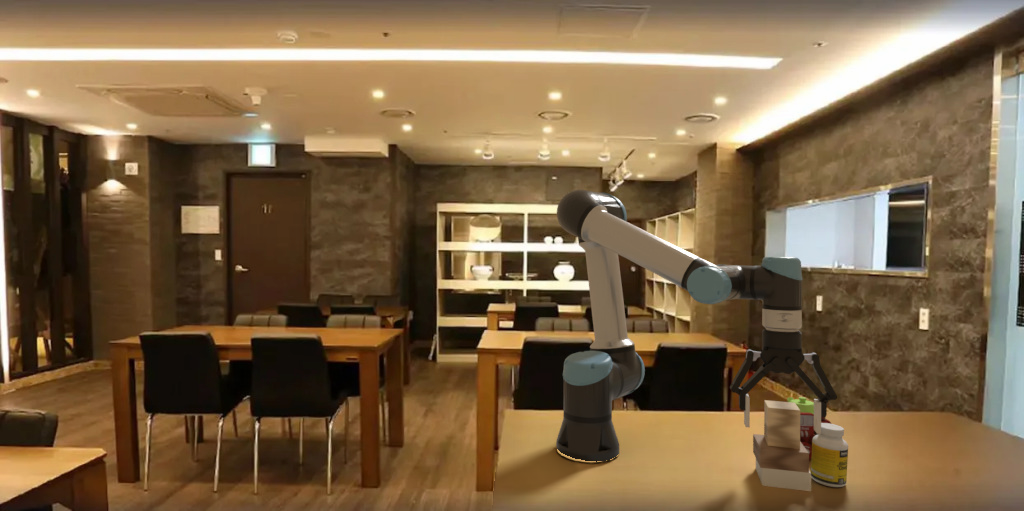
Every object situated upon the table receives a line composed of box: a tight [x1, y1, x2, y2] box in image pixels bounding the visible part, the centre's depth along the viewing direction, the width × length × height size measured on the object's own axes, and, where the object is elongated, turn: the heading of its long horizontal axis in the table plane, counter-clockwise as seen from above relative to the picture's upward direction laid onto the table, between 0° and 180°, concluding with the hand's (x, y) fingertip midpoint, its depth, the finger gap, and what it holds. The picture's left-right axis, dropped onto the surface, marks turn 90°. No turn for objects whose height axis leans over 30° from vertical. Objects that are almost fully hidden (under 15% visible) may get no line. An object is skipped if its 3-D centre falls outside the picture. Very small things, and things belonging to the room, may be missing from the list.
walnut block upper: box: [752, 433, 810, 473], centre depth 112 cm, size 9×9×4 cm
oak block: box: [763, 399, 800, 449], centre depth 112 cm, size 6×6×8 cm
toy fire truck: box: [800, 412, 832, 461], centre depth 124 cm, size 7×12×10 cm, turn 87°
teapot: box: [787, 396, 827, 419], centre depth 143 cm, size 11×12×8 cm
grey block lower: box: [755, 458, 812, 492], centre depth 111 cm, size 9×9×4 cm
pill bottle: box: [810, 423, 849, 488], centre depth 110 cm, size 6×6×12 cm
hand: (781, 428), depth 112 cm, fingers open, 13 cm apart
